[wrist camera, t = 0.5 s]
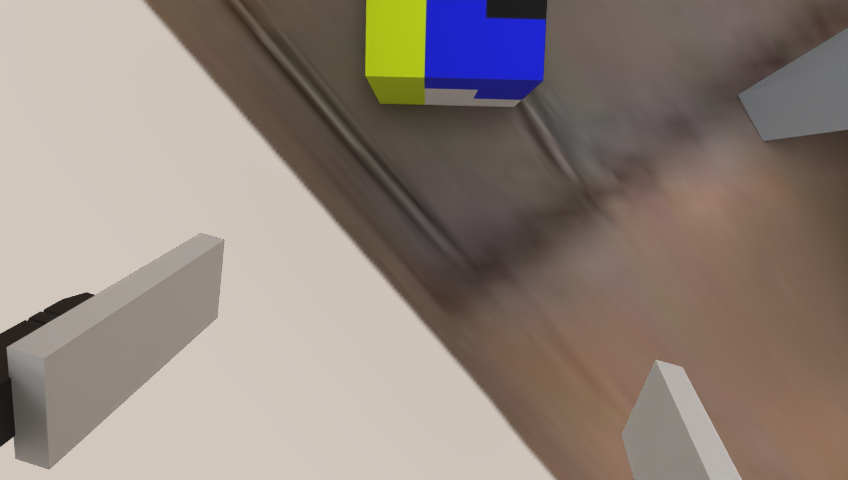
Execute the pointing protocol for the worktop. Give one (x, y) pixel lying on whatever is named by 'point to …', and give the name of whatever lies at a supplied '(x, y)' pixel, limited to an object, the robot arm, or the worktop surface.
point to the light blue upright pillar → (803, 94)
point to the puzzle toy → (455, 51)
